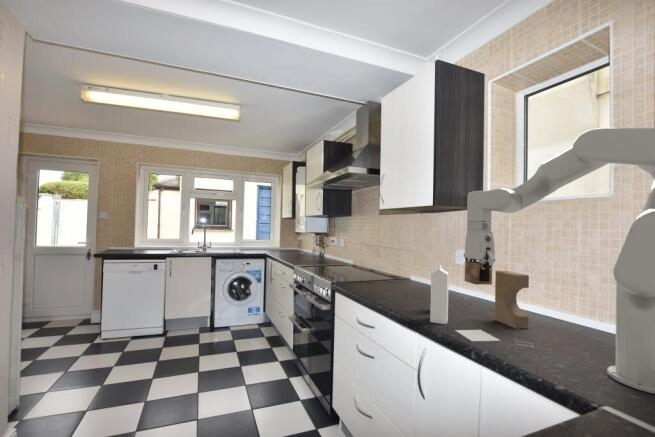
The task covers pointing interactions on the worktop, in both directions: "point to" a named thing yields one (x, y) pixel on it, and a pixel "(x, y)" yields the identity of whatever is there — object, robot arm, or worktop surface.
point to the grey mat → (477, 335)
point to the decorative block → (510, 298)
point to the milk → (439, 296)
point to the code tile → (524, 345)
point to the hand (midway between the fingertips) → (477, 279)
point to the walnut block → (475, 273)
